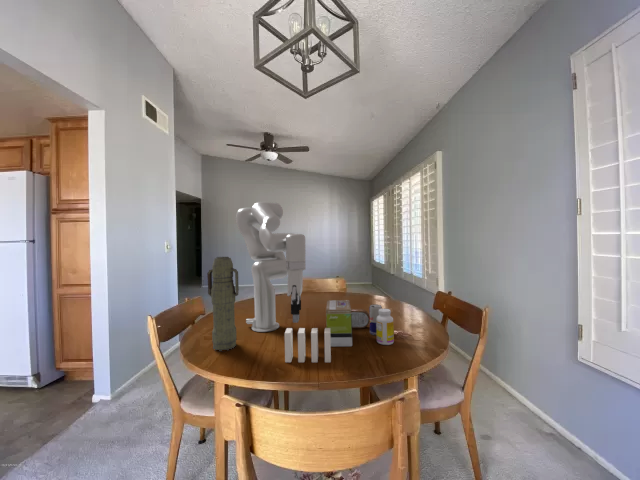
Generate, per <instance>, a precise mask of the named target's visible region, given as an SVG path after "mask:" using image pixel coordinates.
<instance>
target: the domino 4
mask: <svg viewBox="0 0 640 480" xmlns="http://www.w3.org/2000/svg"><path fill="white" fill-rule="evenodd" d="M318 329H319V328H318V327H313V328H311V332H310V344H311V345H310V346H311V363H318V362H319V361H318V360H319V330H318Z"/></svg>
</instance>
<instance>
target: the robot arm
mask: <svg viewBox="0 0 640 480" xmlns="http://www.w3.org/2000/svg"><path fill="white" fill-rule="evenodd" d="M283 214H284V209H283V207H282V205H281V204H280V203H278V202H274V201H273V202H272V201H271V202H270V201H257V202H255V203H254V204H253V205H252V207H242V208H239V209H238V210H237V212H236V213H235V215H236V216H235V221H236V226H237V228H238V231H239V232H240V235H242V237H243V239H244V242H245V245H246V248H247V252H248V255H249V257H250V258H251V260H252V261H255V262H254V263H253V264H252V265H251V275H252V276H251V277H252V281H253V293H254V294H253V295H254V298H253V300H254V317H253V318H246V319H245V324H247V325H251V330H252V331H253V332H258V333H259V332H260V333H266V332H273V331H276V330H277V329H279V328H280V323H279V322H276V321H277V319H276V317H277V316H276V315H277V314H276V289H275V286H274V285H273V283H272V282H271V281H272V280H279V279H280V280H281V279H285V278H287V292H286V294H287V296H288V297H290V296H291V297H290V298H291V299H290V314H291V316H293V315H299V316H300V311H302V299H301V298H302V297H301V295H302V293H303V287H304V286H303V281H304V279H303V278H304V277H303V276H304V275H303V271H305V270H306V236H305V235H304V233H303V234H302V233H292V232H290V233H289V232H275V231H277V230H278V228H279V227H280V225H281V219H282V217H283V216H284V215H283ZM255 225H256V226H257V225H258V226H259V225H260V227H259V229H257V228H256V227H255ZM284 252H285V253H284ZM296 294H298V296H296ZM296 297H297V298H296Z"/></svg>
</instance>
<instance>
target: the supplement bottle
mask: <svg viewBox="0 0 640 480" xmlns="http://www.w3.org/2000/svg"><path fill="white" fill-rule="evenodd" d="M391 314H392V311H391V309H389V308H382V309H379V316H377V318H376V333H377V335H376V342H377V343H378V344H380V345H383V346H390V345H391V346H392V345H393V344H394V342H395V341H394V340H395V336H394V335H395V331H394V329H395V328H394V327H395V326H394V318H393V316H391Z"/></svg>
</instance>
